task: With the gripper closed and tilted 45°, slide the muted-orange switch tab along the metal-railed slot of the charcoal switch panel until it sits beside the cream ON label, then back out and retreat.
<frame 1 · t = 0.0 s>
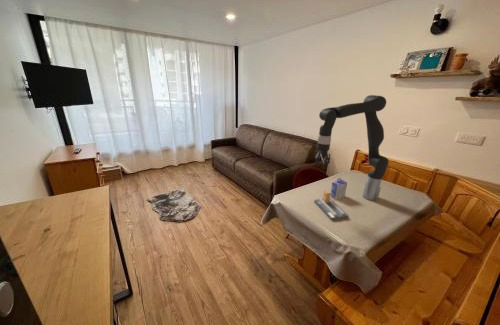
hand: (320, 166, 131), 29 cm above the table, tool pointing down, fingers open, 8 cm apart
switch tab: (326, 197, 140), point 6 cm above the table, slide at 0.0 cm
ink cartridge box: (337, 196, 152), on the table
switch panel: (330, 209, 136), on the table
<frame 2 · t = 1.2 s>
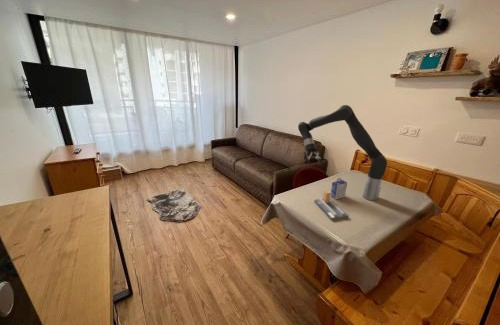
hand: (315, 164, 150), 23 cm above the table, tool tilted 45°, fingers open, 8 cm apart
nothing on the table moved.
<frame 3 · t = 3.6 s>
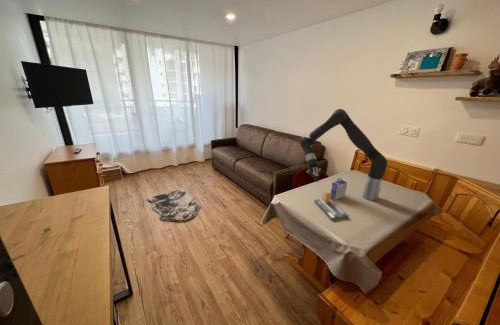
hand: (317, 181, 150), 11 cm above the table, tool tilted 45°, fingers closed
nothing on the table moved.
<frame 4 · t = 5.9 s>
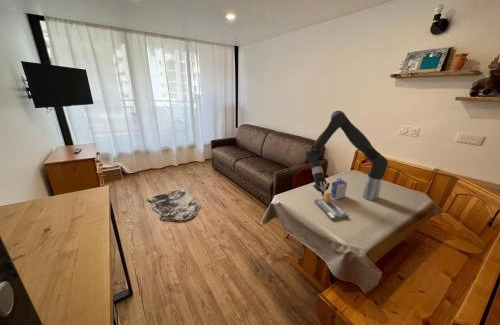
hand: (324, 196, 142), 5 cm above the table, tool tilted 45°, fingers closed
switch tab: (326, 197, 139), point 6 cm above the table, slide at 0.1 cm, touching gripper
everything else where it was.
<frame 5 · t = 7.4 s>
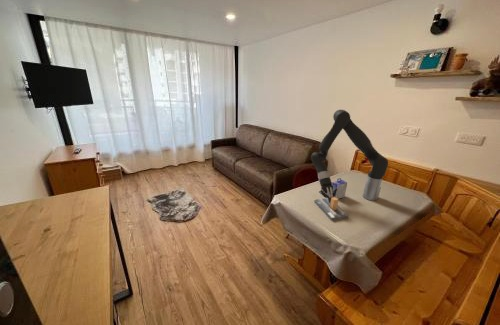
hand: (331, 203, 134), 5 cm above the table, tool tilted 45°, fingers closed
switch tab: (333, 204, 132), point 6 cm above the table, slide at 8.7 cm, touching gripper
everything else where it was.
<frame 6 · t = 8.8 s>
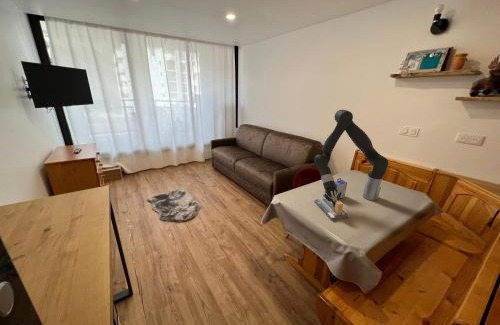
hand: (336, 207, 129), 5 cm above the table, tool tilted 45°, fingers closed
switch tab: (338, 208, 127), point 6 cm above the table, slide at 13.6 cm, touching gripper
everything else where it was.
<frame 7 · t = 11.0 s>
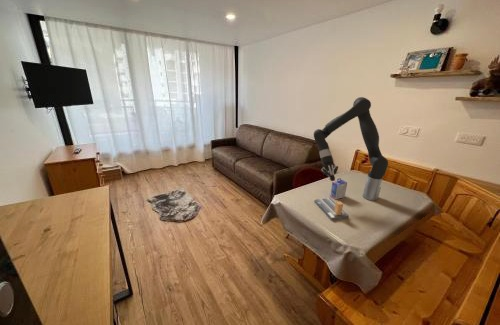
hand: (333, 180, 137), 18 cm above the table, tool tilted 35°, fingers closed
switch tab: (338, 208, 127), point 6 cm above the table, slide at 13.6 cm
everything else where it was.
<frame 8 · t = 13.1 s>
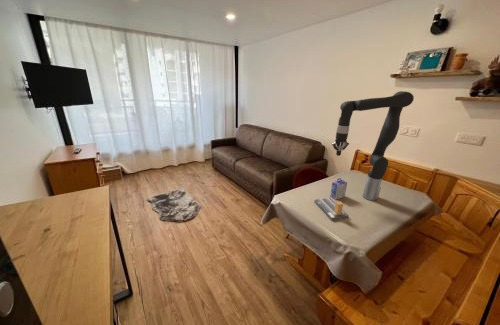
hand: (338, 155, 146), 31 cm above the table, tool pointing down, fingers closed
nothing on the table moved.
at the end: switch tab slide at 13.6 cm; ink cartridge box moved 0.3 cm from its start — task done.
